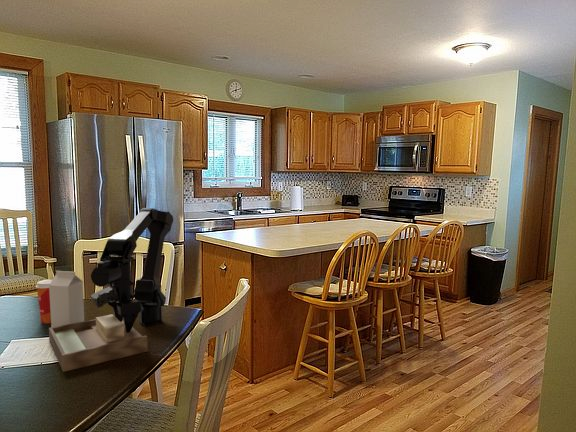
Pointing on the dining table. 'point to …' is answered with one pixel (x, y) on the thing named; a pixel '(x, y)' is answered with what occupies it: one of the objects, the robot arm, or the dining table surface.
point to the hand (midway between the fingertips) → (123, 327)
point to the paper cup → (44, 300)
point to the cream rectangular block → (109, 328)
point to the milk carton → (66, 299)
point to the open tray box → (91, 345)
